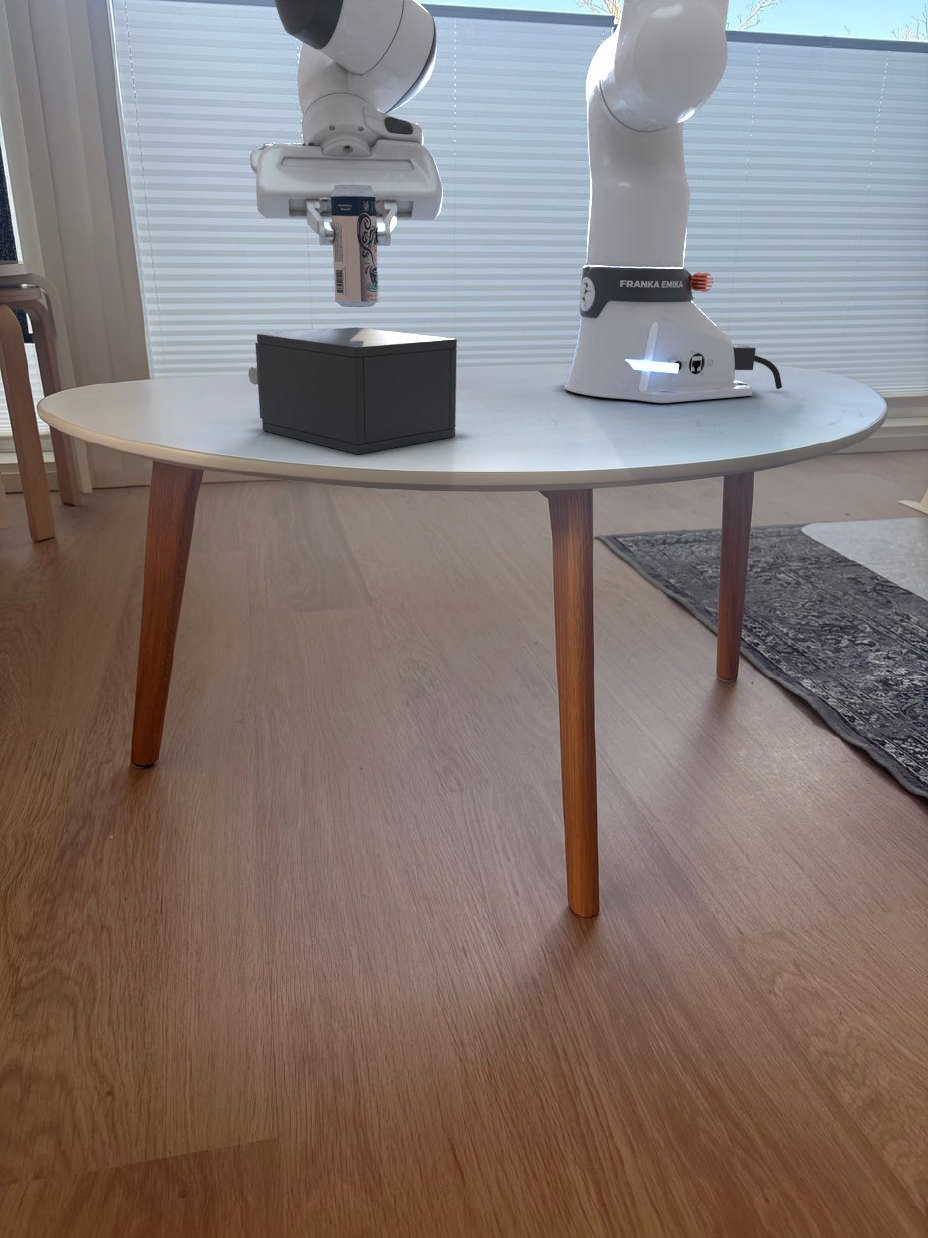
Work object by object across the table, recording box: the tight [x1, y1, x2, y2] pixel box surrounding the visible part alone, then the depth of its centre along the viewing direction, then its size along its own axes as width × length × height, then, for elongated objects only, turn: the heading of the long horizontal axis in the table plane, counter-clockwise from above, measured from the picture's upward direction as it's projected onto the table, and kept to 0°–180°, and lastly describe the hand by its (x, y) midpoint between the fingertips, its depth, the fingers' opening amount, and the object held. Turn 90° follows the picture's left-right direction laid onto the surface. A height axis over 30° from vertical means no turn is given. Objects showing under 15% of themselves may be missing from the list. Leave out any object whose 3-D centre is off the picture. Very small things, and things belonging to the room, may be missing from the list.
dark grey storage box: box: [256, 327, 458, 455], centre depth 84 cm, size 14×12×9 cm
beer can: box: [331, 185, 379, 308], centre depth 100 cm, size 5×5×12 cm
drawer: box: [247, 342, 262, 420], centre depth 86 cm, size 16×10×7 cm, turn 46°
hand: (356, 241), depth 99 cm, fingers closed on beer can, 5 cm apart
